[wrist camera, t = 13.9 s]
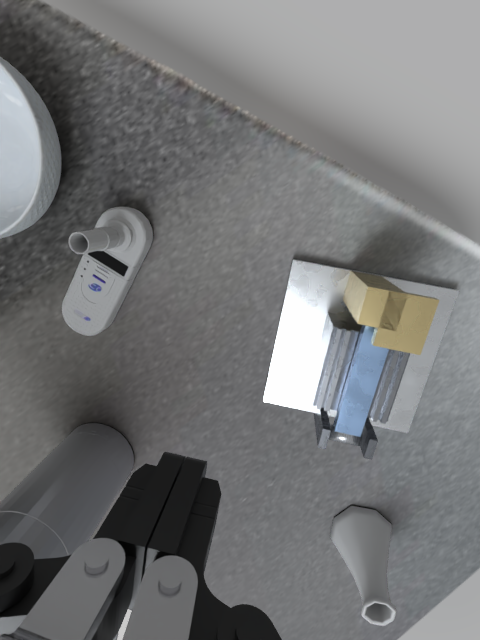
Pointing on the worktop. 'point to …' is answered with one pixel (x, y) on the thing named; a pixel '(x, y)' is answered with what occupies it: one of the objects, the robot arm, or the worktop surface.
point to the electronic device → (105, 268)
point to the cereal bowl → (25, 153)
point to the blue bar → (358, 389)
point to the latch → (390, 312)
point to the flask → (366, 558)
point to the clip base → (345, 352)
